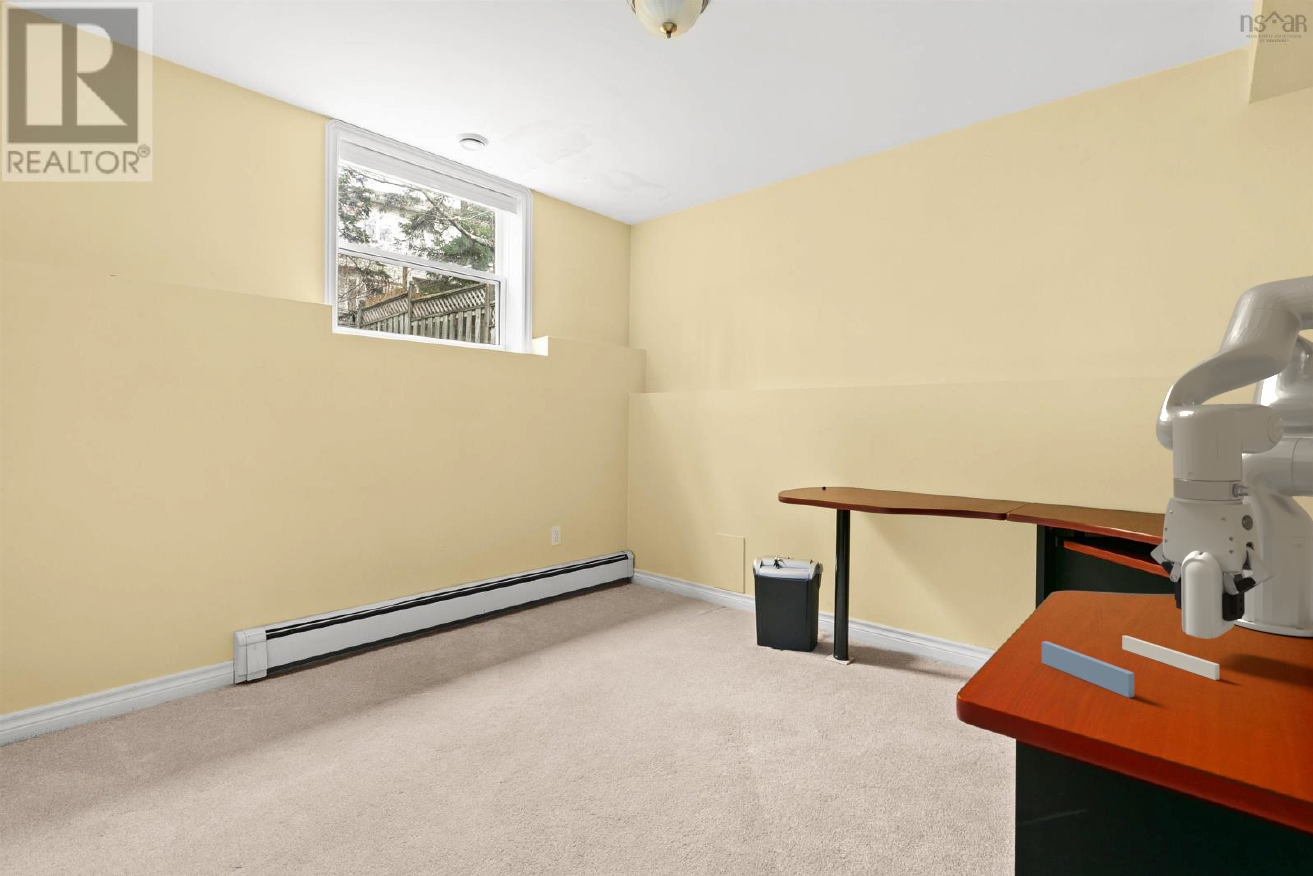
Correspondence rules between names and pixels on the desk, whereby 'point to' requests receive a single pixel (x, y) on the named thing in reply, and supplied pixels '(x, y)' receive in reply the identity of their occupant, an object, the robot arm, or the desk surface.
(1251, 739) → the desk surface
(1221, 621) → the photo printer
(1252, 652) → the desk surface
